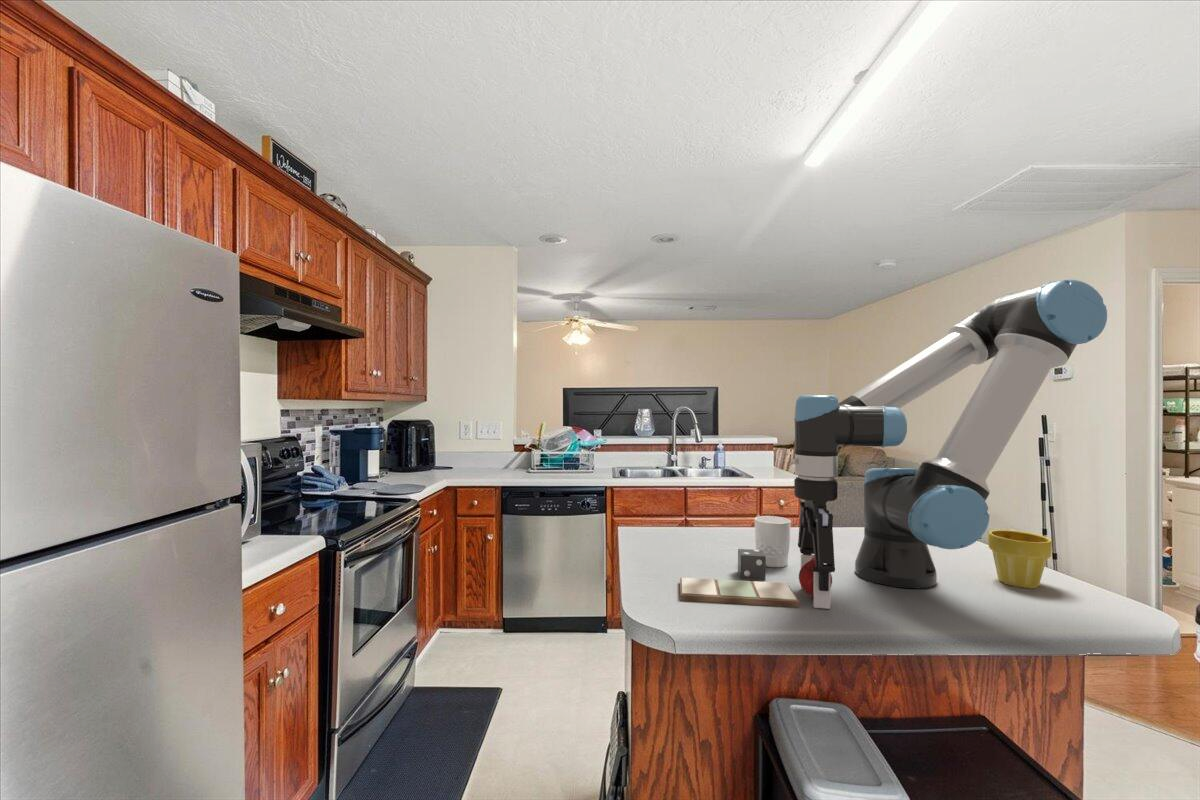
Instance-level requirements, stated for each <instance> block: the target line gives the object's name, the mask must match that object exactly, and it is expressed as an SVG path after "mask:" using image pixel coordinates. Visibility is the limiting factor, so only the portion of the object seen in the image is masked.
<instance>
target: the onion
mask: <svg viewBox="0 0 1200 800" xmlns="http://www.w3.org/2000/svg"><path fill="white" fill-rule="evenodd" d="M813 567H815V558H814V556H813V558H812V559H811V561H809V562H807V563H806V564H805V565H803V567H802V568H801V567H800V570H799V572H798V581H799V584H800V588H801V587H802V588H803V589H802V590H803V591H804V592H805V593H806V594H807V595H809V596H810V597H811V598H812V599H813V595H814V572H812V570H811V569H812V568H813ZM832 585H833V576H832V575H831V586H832Z"/></svg>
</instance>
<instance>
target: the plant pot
mask: <svg viewBox="0 0 1200 800" xmlns="http://www.w3.org/2000/svg"><path fill="white" fill-rule="evenodd" d="M987 538H988V542H987V543H988V548H989V549H990V550H992V555H993V561H994V565H995V569H996V574H997V579H998V581H999V582H1001V583H1003V584H1006V585H1009V586H1013V587H1017V588H1022V589H1036V588H1038V587H1040V583H1041V579H1042V576H1043V573H1044V570H1045V566H1046V563H1047V560H1048V559H1050V558H1051V557H1052V551H1053V550H1052V549H1053V548H1052V547H1053V541H1052V539H1051V538H1050V537H1047V536H1044V535H1042V534H1041V535H1040V534H1037V533H1033V532H1026V531H1021V530H1009V529H993V530H990V531H989V532H988V537H987Z"/></svg>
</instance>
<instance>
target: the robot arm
mask: <svg viewBox="0 0 1200 800" xmlns="http://www.w3.org/2000/svg"><path fill="white" fill-rule="evenodd" d="M1107 320H1108V310H1107V306H1106V304H1104V299H1103V297H1102V295H1101V294H1100V293H1099V291H1098V290H1096V289H1095V287H1094V286H1092V285H1090V284H1088V283H1086V282H1084V281H1082V280H1077V279H1063V280H1059V281H1058V280H1053V281H1049V282H1046V283H1044V284H1043V285H1039V286H1035V287H1031V288H1027V289H1025V290H1020V291H1016V292H1011V293H1007V294H1005V295H1002V296H1000V297H998V298H996V299H994V300H992V301H990V302H988V303H986V304H985V305H984V306H982V307H981V308H979V309H978V310H976V311H974V312H973V313H971V314H970V315H968V316H966V317H965V318H964V319H962V320H961V321H959V322H958V323H956V324H954V325H952V326H951V327H950V328H949V330H948V332H947V335H946V336H945V337H943V338H941V339H940V340H938V341H936V342H935V343H933V344H931V345H930V346H928V347H926V348H925V349H924V350H922V351H920V352H918V353H917V354H915V355H914V356H912V357H911V358H909V359H907V360H906V361H905V362H902V363H901V364H900V365H898V366H896V367H895V368H893V369H891V370H890V371H888V372H887V373H885V374H883V375H881V376H880V377H878V378H877V379H875V380H874V381H872V382H871V383H868V384H867V385H866V386H864V387H863V388H861V389H859V390H858V391H856V392H854V393H853V394H852V395H850V396H848V397H846V398H845V399H843V400H842V401H840V402H839V398H838V397H837V396H836V395H826V394H825V395H819V394H818V395H817V394H816V395H812V394H811V395H808V394H807V395H805V394H804V395H800V396H798V398H797V399H796V401H795V409H794V419H793V422H794V458H793V459H792V460H791V464H792V465H794V474H795V475H796V477H795V478H794V481H793V482H794V483H793V484H794V488H793V489H794V491H793V493H794V494H793V495H794V497H796V498H797V499H799V500H800V502H799V507H800V509H799V510H800V513H799V514H800V515H799V527H798V528H799V529H798V539H797V540H798V542H797V547H798V548H799V552H800V569H801V568H802V567H803V565H805V564H806V563H807V562H809V561H811V559H812V558H813V556H814V558H815V567H813V568H812V569H811V570H812V572H814V595H813V598H812V599H813V603H812V604H813V605H812V606H813V608H814V609H829V610H830V609H831V598H832V597H831V593H832V592H831V591H832V590H831V588H832V585H831V576H832V573H835V571H836V566H835V550H834V532H833V520H834V516H833V514H832V513H830V511H829V510H828V508H827V503H828V502H833V501H836V500H837V499H838V481H837V479H835V478H837V477H838V476H839V452H838V451H839V447H875V448H876V447H877V448H878V447H879V448H885V447H898V446H900V445H901V444H902V443H904V441H905V440H906V437H907V433H908V421H907V418H906V416H905V414H904V412H903V411H902V410H901V409H902V408H903V407H905V406H906V405H908V404H909V403H912V402H913V401H914V400H916V399H917V398H919V397H921V396H922V395H924V394H925V393H928V392H930V390H932V389H934V388H935V387H937V386H939V385H940V384H942V383H943V382H945V381H947V380H948V379H950V378H952V377H953V376H955V375H956V374H959V372H961V371H963V370H964V369H966V368H968V367H970V366H971V365H976V366H978V365H982V364H984V363H986V362H987V361H989V360H990V359H992V361H991V362H990V364H989V366H988V368H987V370H986V371H985V373H984V375H983V376H982V377H981V380H980V381H979V383H978V385H977V386H976V388H975V390H974V392H973V393H972V395H971V397H970V399H969V400H968V402H967V403H966V406H965V407H964V408H963V411H962V413H961V414H960V416H959V417H958V419H957V421H956V423H955V424H954V426H953V427H952V429H951V431H950V432H949V434H948V437H946V439H945V442H944V443H943V445H942V447H941V448H940V450H939V451H938V453H937V455H936V456H935V457H934V458H931V459H930V458H929V459H926V460H923V461H922V462H921V464H920V465H919V467H918V468H917V467H916V468H915V467H914V468H913V467H910V468H909V467H907V468H906V467H901V468H900V467H883V468H882V467H880V468H879V467H877V468H876V467H875V468H873V467H872V468H869V469H867V470H866V471H865V474H864V482H863V488H864V489H863V491H864V492H863V493H864V495H863V497H864V498H863V499H864V500H863V502H864V504H863V505H864V506H863V507H864V508H863V509H864V510H863V511H864V512H863V514H864V515H863V517H864V520H863V521H864V523H863V525H864V533H863V540H862V541H861V545H860V547H859V551H858V553H857V555H856V558H855V560H854V561H855V563H854V572H855V574H856V575H857V576H859V577H860V578H862V579H864V580H868V581H870V582H873V583H877V584H880V585H884V586H890V587H897V588H905V589H925V588H931V587H934V586H936V585H937V581H938V579H937V578H938V577H937V570H936V567H935V564H934V561H933V557H932V555H931V553H930V550H929V547H928V546H931V547H937V548H940V549H943V550H960V549H963V548H967V547H969V546H971V545H973V544H975V543H976V542H977V541H979V540H980V539H981V537H983V535H985V534H984V533H986V531H987V529H988V527H989V524H990V518H991V517H990V514H989V513H988V511H989V506H988V503H987V502H986V501H987V499H988V497H989V495H990V493H991V491H990V489H989V486H988V484H987V478H988V477H989V475H990V473H991V472H992V470H993V468H994V467H995V465H996V464H997V462H998V460H999V458H1000V456H1001V455H1002V453H1003V452H1004V450H1005V448H1006V446H1007V445H1008V443H1009V441H1010V439H1011V438H1012V436H1013V434H1014V433H1015V431H1016V429H1017V428H1018V426H1019V425H1020V422H1021V421H1022V419H1023V417H1024V415H1025V414H1026V412H1027V410H1028V409H1029V407H1030V405H1031V403H1032V402H1033V400H1034V399H1035V397H1036V395H1037V393H1038V392H1039V390H1040V388H1041V387H1042V385H1043V383H1044V382H1045V380H1046V378H1047V376H1048V375H1049V373H1050V372H1051V370H1052V369H1054V368H1057V367H1062V366H1064V365H1066V364H1067V362H1068V361H1069V359H1070V357H1071V356H1072V354H1073V352H1074V350H1075V348H1077V345H1083V344H1087V343H1089V342H1091V341H1094V340H1095V339H1096V338H1098V337H1099V336H1100V335H1101V334H1102V332H1103V331H1104V330H1105V328H1106V325H1107ZM800 589H802V590H803V588H802V587H801V586H800Z"/></svg>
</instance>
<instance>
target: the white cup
mask: <svg viewBox="0 0 1200 800" xmlns="http://www.w3.org/2000/svg"><path fill="white" fill-rule="evenodd" d="M791 524H792V521H791V519H789V518H786V517H783V516H781V517H780V516H776V515H775V516H774V515H761V516H756V517H754V534H755V535H754V537H755V550H762V551H763V553H764V554H765V556H766V567H769V568H784V567H787V566H788V565H789V553H790V541H791Z"/></svg>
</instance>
